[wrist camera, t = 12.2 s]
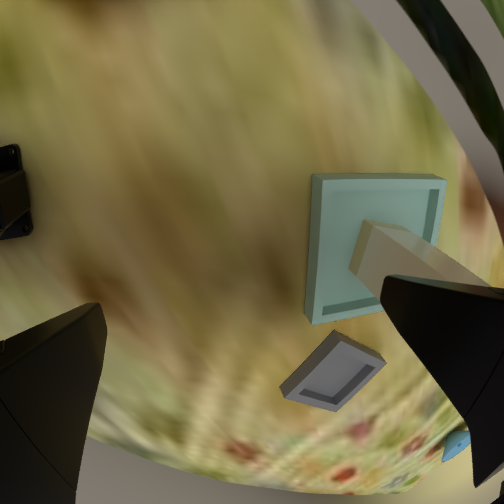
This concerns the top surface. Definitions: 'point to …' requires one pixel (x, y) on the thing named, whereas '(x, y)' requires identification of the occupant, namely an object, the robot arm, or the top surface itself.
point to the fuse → (402, 258)
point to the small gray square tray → (333, 373)
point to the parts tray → (348, 228)
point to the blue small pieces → (455, 444)
